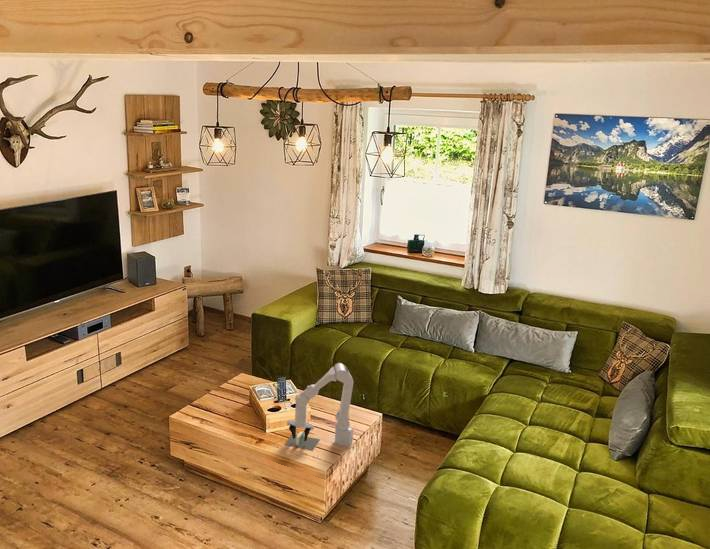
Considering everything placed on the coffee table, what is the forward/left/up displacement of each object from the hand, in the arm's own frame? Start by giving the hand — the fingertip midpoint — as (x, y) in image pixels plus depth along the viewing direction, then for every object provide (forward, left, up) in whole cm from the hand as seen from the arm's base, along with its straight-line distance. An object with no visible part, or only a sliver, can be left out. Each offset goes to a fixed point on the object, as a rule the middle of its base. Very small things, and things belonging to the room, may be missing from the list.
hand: (299, 439), depth 329 cm
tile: (0, 0, -2) cm, 2 cm away
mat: (-1, -1, -3) cm, 3 cm away
